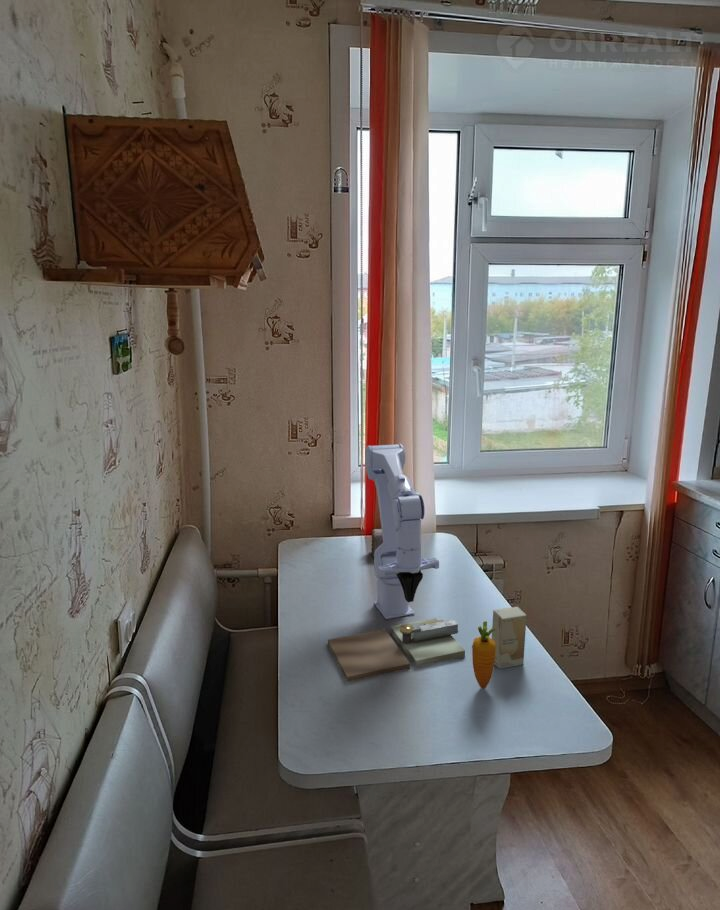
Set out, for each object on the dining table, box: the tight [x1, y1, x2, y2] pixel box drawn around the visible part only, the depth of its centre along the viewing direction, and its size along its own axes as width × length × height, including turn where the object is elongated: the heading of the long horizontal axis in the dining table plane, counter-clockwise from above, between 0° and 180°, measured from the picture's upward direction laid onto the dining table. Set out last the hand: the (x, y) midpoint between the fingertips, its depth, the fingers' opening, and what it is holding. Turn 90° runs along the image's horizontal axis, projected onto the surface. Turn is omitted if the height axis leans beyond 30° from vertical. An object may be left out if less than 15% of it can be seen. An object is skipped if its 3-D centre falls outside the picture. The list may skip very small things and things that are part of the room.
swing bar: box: [400, 619, 459, 642], centre depth 147 cm, size 14×3×3 cm, turn 107°
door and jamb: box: [327, 617, 466, 682], centre depth 145 cm, size 16×28×4 cm, turn 108°
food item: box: [370, 528, 396, 558], centre depth 199 cm, size 14×8×10 cm, turn 96°
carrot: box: [471, 620, 497, 690], centre depth 129 cm, size 5×5×15 cm
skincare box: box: [491, 606, 527, 669], centre depth 139 cm, size 6×4×12 cm
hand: (409, 600), depth 148 cm, fingers closed
